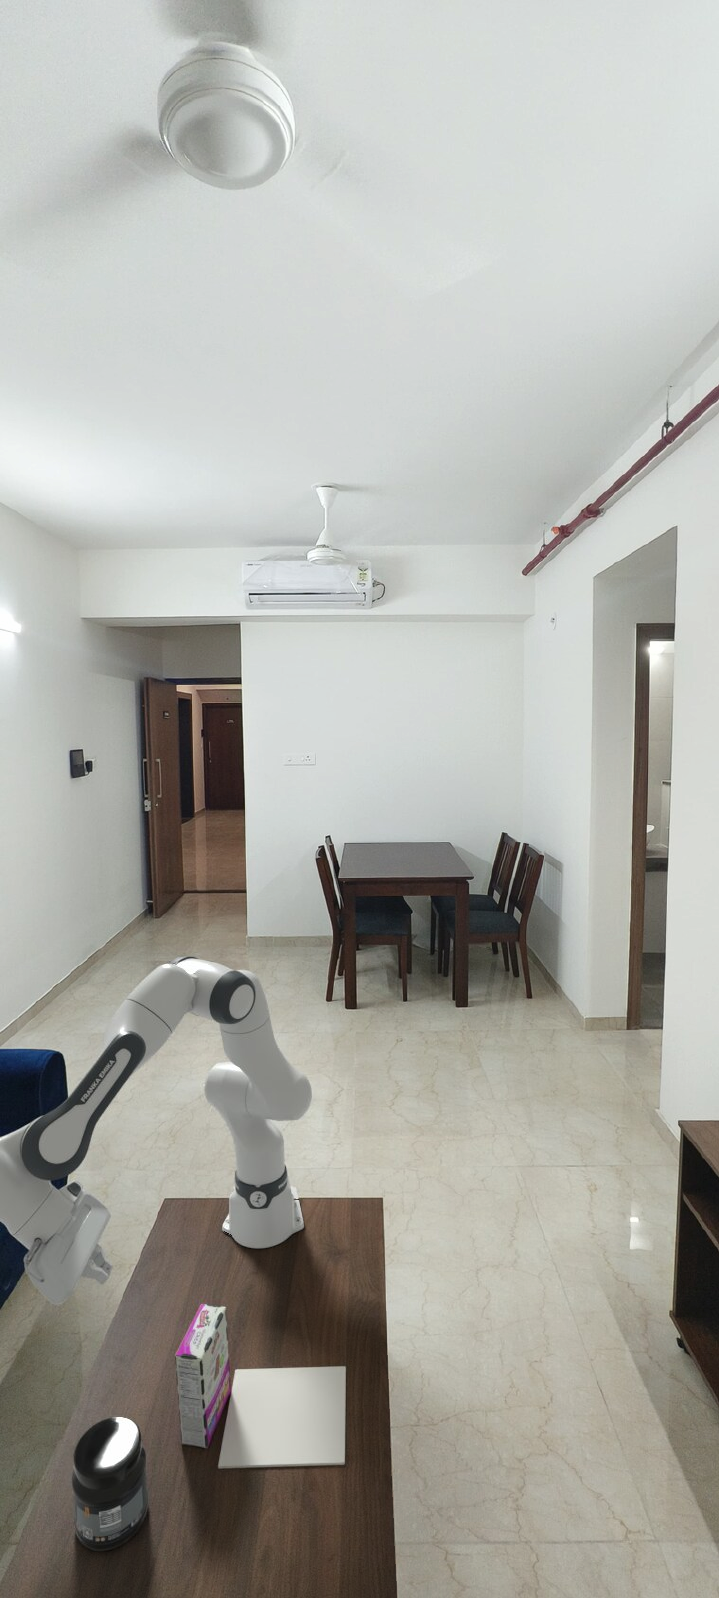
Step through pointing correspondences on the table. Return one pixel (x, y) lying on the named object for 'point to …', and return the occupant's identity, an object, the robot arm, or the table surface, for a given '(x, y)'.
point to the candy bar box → (203, 1375)
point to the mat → (285, 1418)
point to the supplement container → (109, 1484)
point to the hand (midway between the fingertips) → (108, 1275)
